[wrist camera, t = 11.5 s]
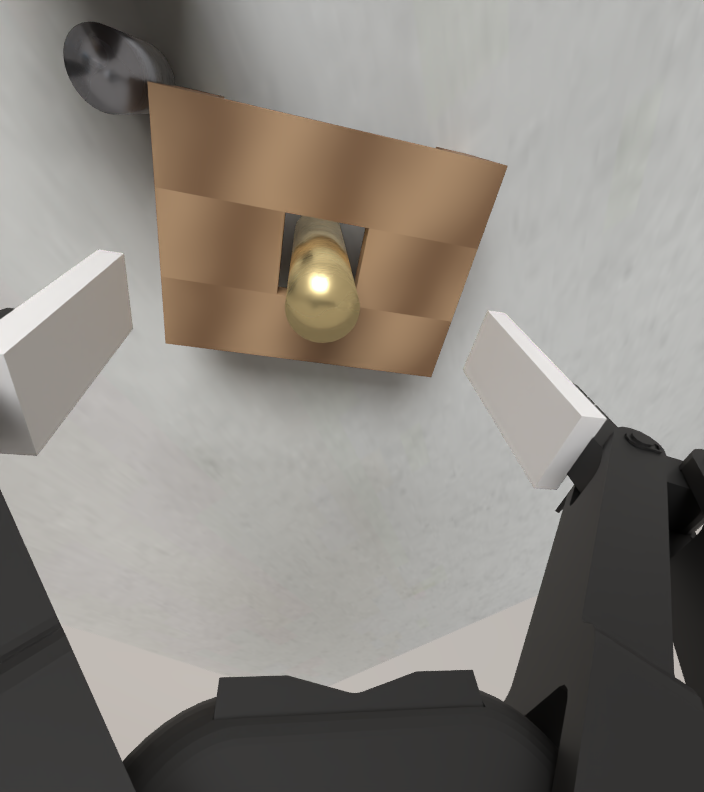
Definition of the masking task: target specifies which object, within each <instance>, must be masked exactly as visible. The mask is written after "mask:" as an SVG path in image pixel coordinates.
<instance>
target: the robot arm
mask: <svg viewBox="0 0 704 792" xmlns="http://www.w3.org/2000/svg"><path fill="white" fill-rule="evenodd" d="M132 329H133V325H132V317H131V309H130V300H129V292H128V284H127V276H126V267H125V259H124V253H118V252H112V251H105V250H99V249H98V250H97V251H95V252H94V253H93V254H91V255H90V256H88V257H87V258H86V259H84V260H83V261H81V262H80V263H79V264H77V265H76V266H74V267H73V268H72V269H70V270H69V271H67V272H66V273H65V274H63V275H62V276H60V277H59V278H58V279H56V280H55V281H53V282H52V283H51V284H49V285H48V286H46V287H45V288H44V289H42V290H41V291H39V292H38V293H37V294H35V295H34V296H32V297H31V298H30V299H28V300H27V301H25V302H24V303H23V304H21V305H20V306H18V307H17V308H16V309H13V308H6V309H3V310H0V453H2V454H17V455H33V456H37V455H38V454H39V453H40V451H41V450H42V449H43V447H44V446H45V445H46V443H47V442H48V441H49V439H50V438H51V437H52V435H53V434H54V433H55V431H56V430H57V429H58V427H59V426H60V425H61V423H62V422H63V421H64V420H65V418H66V417H67V416H68V414H69V413H70V412H71V410H72V409H73V408H74V406H75V405H76V404H77V402H78V401H79V400H80V398H81V397H82V396H83V394H84V393H85V392H86V390H87V389H88V388H89V386H90V385H91V384H92V382H93V381H94V380H95V378H96V377H97V376H98V374H99V373H100V372H101V370H102V369H103V368H104V366H105V365H106V364H107V362H108V361H109V360H110V358H111V357H112V356H113V355H114V353H115V352H116V351H117V349H118V348H119V347H120V345H121V344H122V343H123V341H124V340H125V339H126V337H127V336H128V335H129V333H130V332H131V331H132ZM463 371H464V372H465V374H466V376H467V377H468V379H469V381H470V382H471V384H472V386H473V387H474V389H475V391H476V392H477V394H478V395H479V397H480V399H481V400H482V402H483V404H484V405H485V407H486V409H487V410H488V412H489V414H490V415H491V417H492V419H493V420H494V422H495V424H496V425H497V427H498V429H499V430H500V432H501V434H502V435H503V437H504V439H505V440H506V442H507V444H508V445H509V447H510V449H511V450H512V452H513V454H514V455H515V457H516V459H517V460H518V462H519V464H520V465H521V467H522V469H523V470H524V472H525V474H526V475H527V477H528V479H529V480H530V482H531V484H532V485H533V487H534V488H537V489H553V490H557V489H558V488H559V486H560V485H561V483H562V482H563V480H564V479H565V478H566V476H567V475H568V476H569V478H570V479H571V480H572V482H573V483H574V486H573V487H572V489H571V490H570V491H569V493H568V494H567V495H566V497H565V498H564V500H563V501H562V502H561V504H560V505H559V506H558V508H557V509H556V510H555V511H556V512H558V513H559V512H560V511H561V510H563V511H562V515H561V518H560V522H559V525H558V529H557V532H556V536H555V539H554V542H553V546H552V549H551V553H550V556H549V560H548V563H547V567H546V570H545V573H544V577H543V580H542V584H541V587H540V591H539V594H538V598H537V601H536V605H535V608H534V611H533V615H532V619H531V622H530V625H529V629H528V632H527V636H526V639H525V642H524V646H523V650H522V653H521V656H520V660H519V663H518V666H517V670H516V673H515V677H514V680H513V683H512V687H511V689H510V691H509V694H508V696H507V697H506V699H505V701H504V702H503V701H501V700H500V699H498V698H496V697H494V696H492V695H490V694H487V693H485V692H483V691H480V690H479V689H478V686H477V683H476V679H475V676H474V673H473V670H453V671H421V672H414V673H411V674H409V675H406V676H403V677H401V678H398V679H396V680H393V681H390V682H387V683H385V684H382V685H379V686H377V687H374V688H371V689H369V690H366V691H363V692H360V693H349V692H345V691H341V690H338V689H335V688H331V687H327V686H324V685H320V684H316V683H313V682H309V681H305V680H302V679H298V678H295V677H291V676H256V677H224V678H219V685H218V692H217V697H215V698H212V699H209V700H206V701H203V702H201V703H198V704H196V705H195V706H193V707H190V708H188V709H186V710H184V711H182V712H181V713H179V714H178V715H176V716H175V717H173V718H171V719H170V720H168V721H167V722H165V723H164V724H163V725H161V726H160V727H159V728H158V729H157V730H155V731H154V732H153V733H151V734H150V735H149V736H148V737H146V738H145V739H144V740H143V741H142V742H141V743H140V744H139V745H138V746H137V747H136V748H135V749H134V750H133V751H132V752H131V753H130V754H129V755H128V756H127V757H126V758H125V759H124V761H123V762H122V760H121V758H120V755H119V753H118V751H117V749H116V747H115V744H114V742H113V740H112V738H111V736H110V733H109V731H108V729H107V726H106V724H105V722H104V720H103V717H102V715H101V713H100V711H99V709H98V706H97V704H96V702H95V700H94V697H93V695H92V693H91V691H90V688H89V686H88V684H87V682H86V680H85V677H84V675H83V673H82V670H81V668H80V666H79V664H78V662H77V659H76V657H75V655H74V653H73V650H72V648H71V646H70V644H69V641H68V639H67V637H66V635H65V633H64V630H63V628H62V627H61V624H60V622H59V620H58V618H57V616H56V613H55V611H54V609H53V607H52V604H51V602H50V600H49V598H48V595H47V593H46V591H45V589H44V586H43V584H42V582H41V580H40V577H39V575H38V573H37V571H36V569H35V566H34V564H33V562H32V560H31V557H30V555H29V553H28V551H27V548H26V546H25V544H24V542H23V539H22V537H21V535H20V533H19V530H18V528H17V526H16V524H15V521H14V519H13V517H12V515H11V512H10V510H9V508H8V506H7V504H6V501H5V499H4V497H3V495H2V492H1V490H0V792H704V525H703V524H704V450H703V449H694V450H693V451H692V452H691V453H690V454H689V455H688V457H687V458H686V459H685V460H684V461H681V460H678V459H675V458H671V457H668V456H666V454H665V451H664V449H663V448H662V447H661V446H660V445H659V444H658V443H657V442H656V441H655V440H653V439H652V438H651V437H649V436H647V435H645V434H643V433H642V432H640V431H637V430H634V429H631V428H627V427H617V426H616V425H615V424H614V423H613V422H612V421H611V420H610V419H609V418H608V417H607V416H606V415H605V414H604V413H603V412H602V411H601V410H600V408H599V407H598V406H597V405H594V404H595V403H594V402H593V401H592V400H591V399H590V398H588V397H587V395H586V394H585V393H584V392H583V391H582V390H581V389H580V388H579V387H578V386H577V385H575V384H574V383H572V382H571V381H570V380H569V379H568V378H567V377H566V376H565V375H564V374H563V373H562V372H561V371H560V369H559V368H558V367H557V366H556V365H555V364H554V363H553V362H552V361H551V360H550V359H549V358H548V357H547V356H546V355H545V354H544V353H543V352H542V351H541V350H540V349H539V348H538V347H537V346H536V345H535V344H534V343H533V341H532V340H531V339H530V338H529V337H528V336H527V335H526V334H525V333H524V332H523V331H522V330H521V329H520V328H519V327H518V326H517V325H516V324H515V323H514V322H513V321H512V320H511V319H510V318H509V317H508V316H507V314H506V313H501V312H495V311H488V310H487V313H486V315H485V318H484V320H483V322H482V325H481V327H480V330H479V332H478V335H477V337H476V339H475V342H474V344H473V347H472V349H471V352H470V354H469V356H468V359H467V361H466V364H465V366H464V368H463ZM702 525H703V527H702V530H701V531H700V532H699V534H697V535H696V533H695V531H696V530H697V529H699V528H700V527H701V526H702ZM673 643H674V646H675V650H676V653H677V656H678V659H679V663H680V666H681V670H682V673H683V676H684V679H685V683H686V684H684V683H683V682H681V681H680V680H678V679H677V678H675V675H674V660H673Z"/></svg>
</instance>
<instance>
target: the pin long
mask: <svg viewBox="0 0 704 792" xmlns="http://www.w3.org/2000/svg"><path fill="white" fill-rule="evenodd" d="M285 313H286V317H287V320H288V322H289V324H290V326H291V327H292V329H293V330H294V331H295V332H296V333H297V334H298V335H300V336H301V337H303V338H305V339H307V340H309V341H312V342H318V343H327V342H333V341H336V340H339V339H341V338H342V337H344V336H345V335H347V334H348V333H349V332H350V331H351V330H352V329H353V328H354V326H355V324H356V322H357V320H358V317H359V313H360V302H359V298H358V294H357V290H356V286H355V282H354V278H353V275H352V271H351V267H350V263H349V259H348V255H347V251H346V247H345V243H344V239H343V235H342V231H341V227H340V224H339V222H334V221H328V220H323V219H318V218H313V217H308V216H301V217H300V218H299V219H298V221H297V223H296V226H295V232H294V240H293V247H292V255H291V263H290V270H289V278H288V286H287V293H286V301H285Z"/></svg>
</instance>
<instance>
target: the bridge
mask: <svg viewBox="0 0 704 792" xmlns="http://www.w3.org/2000/svg"><path fill="white" fill-rule="evenodd" d="M147 84H148V98H149V112H150V127H151V141H152V155H153V169H154V184H155V198H156V212H157V226H158V241H159V255H160V269H161V283H162V298H163V312H164V326H165V341H166V343H167V344H175V345H183V346H191V347H199V348H206V349H214V350H222V351H230V352H238V353H246V354H253V355H261V356H269V357H277V358H285V359H293V360H301V361H308V362H316V363H324V364H332V365H340V366H348V367H355V368H363V369H371V370H379V371H387V372H395V373H402V374H410V375H418V376H426V377H431V376H432V373H433V371H434V368H435V365H436V362H437V359H438V357H439V354H440V351H441V348H442V346H443V343H444V340H445V337H446V335H447V332H448V329H449V326H450V324H451V321H452V318H453V315H454V313H455V310H456V307H457V304H458V302H459V299H460V296H461V293H462V291H463V288H464V285H465V282H466V280H467V277H468V274H469V271H470V268H471V266H472V263H473V260H474V257H475V255H476V252H477V249H478V246H479V244H480V241H481V238H482V235H483V233H484V230H485V227H486V224H487V222H488V219H489V216H490V213H491V211H492V208H493V205H494V202H495V200H496V197H497V194H498V191H499V189H500V186H501V183H502V180H503V177H504V175H505V172H506V169H507V166H506V165H503V164H499V163H496V162H492V161H489V160H486V159H482V158H479V157H475V156H472V155H469V154H465V153H460V152H456V151H452V150H448V149H443V148H439V147H436V148H431V147H427V146H423V145H419V144H414V143H410V142H406V141H402V140H397V139H393V138H389V137H385V136H380V135H376V134H372V133H368V132H363V131H359V130H355V129H351V128H346V127H342V126H338V125H334V124H329V123H325V122H321V121H317V120H312V119H308V118H304V117H300V116H295V115H291V114H287V113H283V112H278V111H274V110H270V109H266V108H261V107H257V106H253V105H249V104H244V103H240V102H236V101H232V100H227V99H224V97H223V96H219V95H214V94H210V93H206V92H202V91H198V90H193V89H189V88H185V87H179V86H173V85H167V84H160V83H154V82H148V81H147ZM285 212H287V213H292V214H297V215H302V216H308V217H313V218H318V219H323V220H328V221H334V222H339V223H344V224H349V225H355V226H360V227H365V232H364V237H363V242H362V247H361V252H360V257H359V262H358V266H357V271H356V276H355V281H354V282H355V286H356V290H357V294H358V298H359V302H360V313H359V317H358V320H357V322H356V324H355V326H354V328H353V329H352V330H351V331H350V332H349V333H348V334H347V335H345V336H344V337H342V338H341V339H339V340H336V341H333V342H327V343H318V342H312V341H309V340H307V339H305V338H303V337H301V336H300V335H298V334H297V333H296V332H295V331H294V330H293V329H292V327H291V326H290V324H289V322H288V320H287V317H286V313H285V301H286V293H287V288H284V287H278V285H279V274H280V264H281V254H282V243H283V233H284V223H285Z"/></svg>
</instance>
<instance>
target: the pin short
mask: <svg viewBox="0 0 704 792" xmlns="http://www.w3.org/2000/svg"><path fill="white" fill-rule="evenodd" d="M64 63H65V67H66V71H67V74H68V76H69V78H70V80H71V82H72V84H73V86H74V87H75V89H76V90H77V92H78V93H79V94H80V95H81V96H82V97H83V99H84V100H85V101H87V102H88V103H89V104H90V105H92V106H93V107H94V108H96V109H98V110H100V111H102V112H105V113H108V114H149V113H150V112H149V98H148V84H147V81H148V82H154V83H160V84H167V85H173V86H175V80H174V75H173V72H172V69H171V67H170V65H169V63H168V61H167V60H166V58H165V57H164V55H163V54H162V53H161V52H160V51H159V50H158V49H157V48H156V47H154V46H153V45H151V44H150V43H148V42H146V41H143V40H141V39H138V38H136V37H133V36H131V35H128V34H126V33H123V32H121V31H118V30H116V29H113V28H111V27H108V26H106V25H103V24H100V23H97V22H84V23H81V24H78V25H77V26H75V27H74V28H73V29H72V30H71V31H70V32H69V34H68V35H67V37H66V40H65V43H64Z"/></svg>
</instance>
